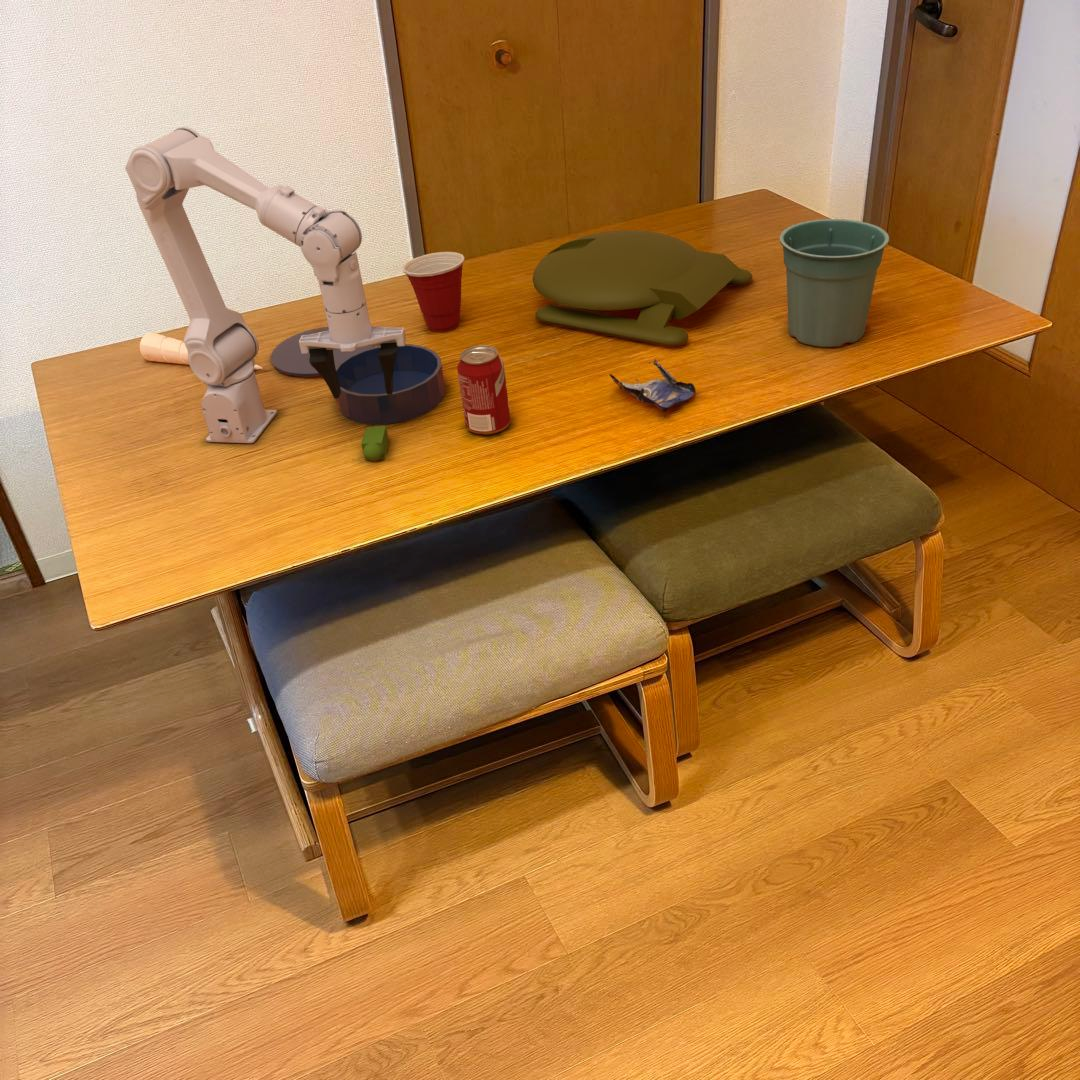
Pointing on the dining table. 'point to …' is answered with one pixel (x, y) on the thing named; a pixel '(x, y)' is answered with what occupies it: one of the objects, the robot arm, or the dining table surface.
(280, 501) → the dining table surface
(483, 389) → the soda can
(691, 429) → the dining table surface
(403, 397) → the pan
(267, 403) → the dining table surface
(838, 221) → the flower pot
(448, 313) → the plastic cup
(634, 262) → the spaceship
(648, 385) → the snack package
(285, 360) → the pan lid
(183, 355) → the unicorn horn
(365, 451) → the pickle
